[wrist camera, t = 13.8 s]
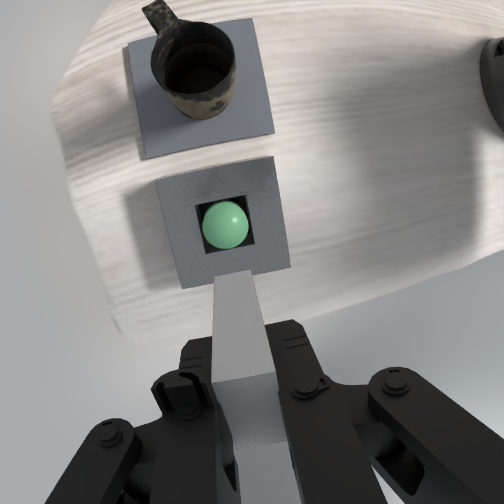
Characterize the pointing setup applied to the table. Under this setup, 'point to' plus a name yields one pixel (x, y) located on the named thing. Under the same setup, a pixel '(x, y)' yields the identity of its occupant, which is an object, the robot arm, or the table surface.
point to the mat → (209, 130)
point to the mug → (191, 62)
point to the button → (225, 224)
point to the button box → (217, 188)
